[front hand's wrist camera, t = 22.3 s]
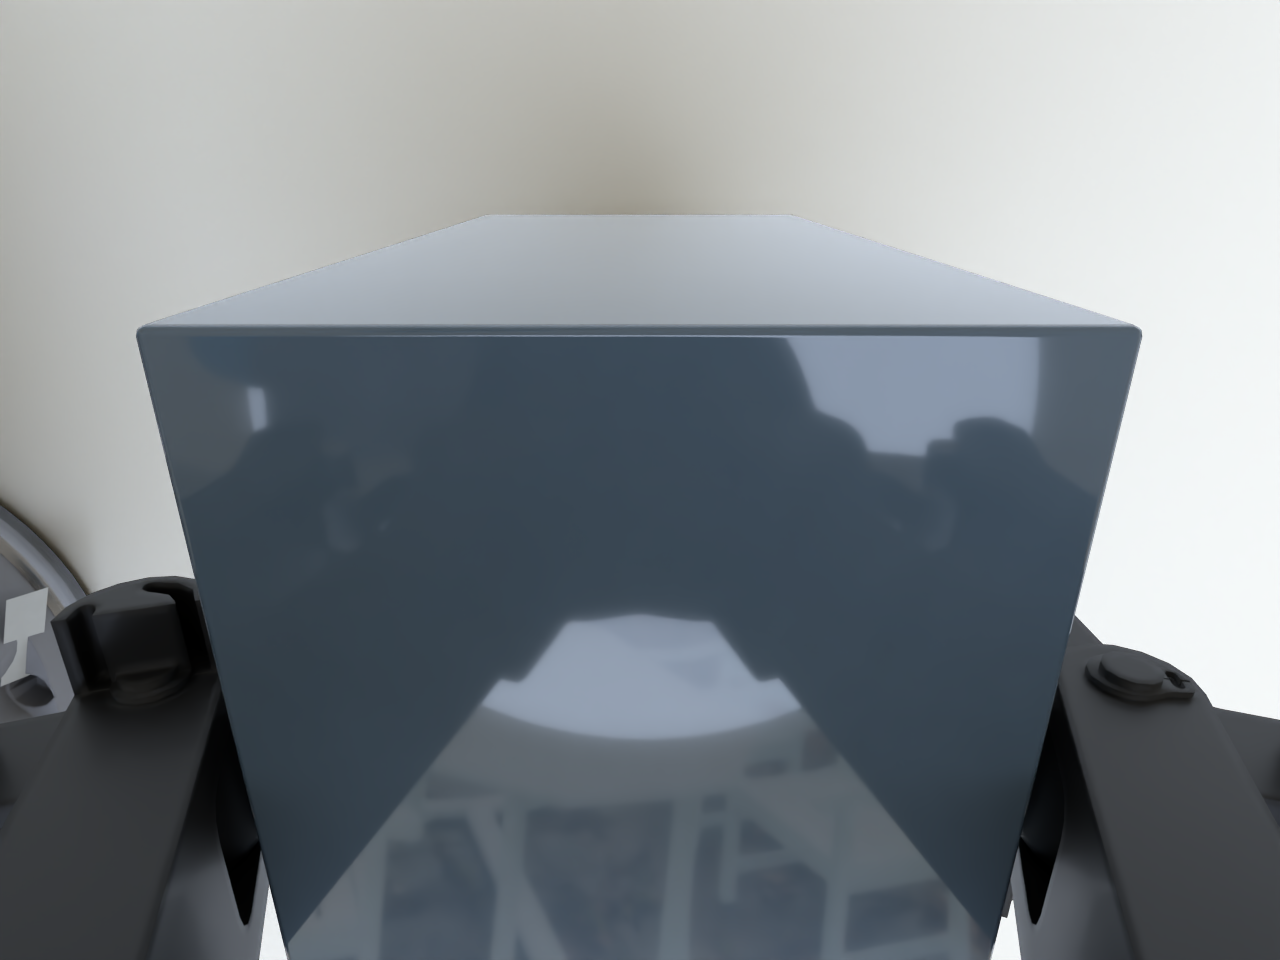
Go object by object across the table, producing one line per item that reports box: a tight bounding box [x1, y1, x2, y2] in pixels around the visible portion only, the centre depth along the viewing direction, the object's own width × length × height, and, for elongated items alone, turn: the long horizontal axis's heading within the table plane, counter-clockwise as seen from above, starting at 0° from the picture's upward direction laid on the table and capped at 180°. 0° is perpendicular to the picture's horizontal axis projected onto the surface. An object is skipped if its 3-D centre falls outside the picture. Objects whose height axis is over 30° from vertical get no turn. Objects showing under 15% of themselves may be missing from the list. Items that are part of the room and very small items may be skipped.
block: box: [136, 215, 1142, 960], centre depth 12 cm, size 9×6×12 cm
